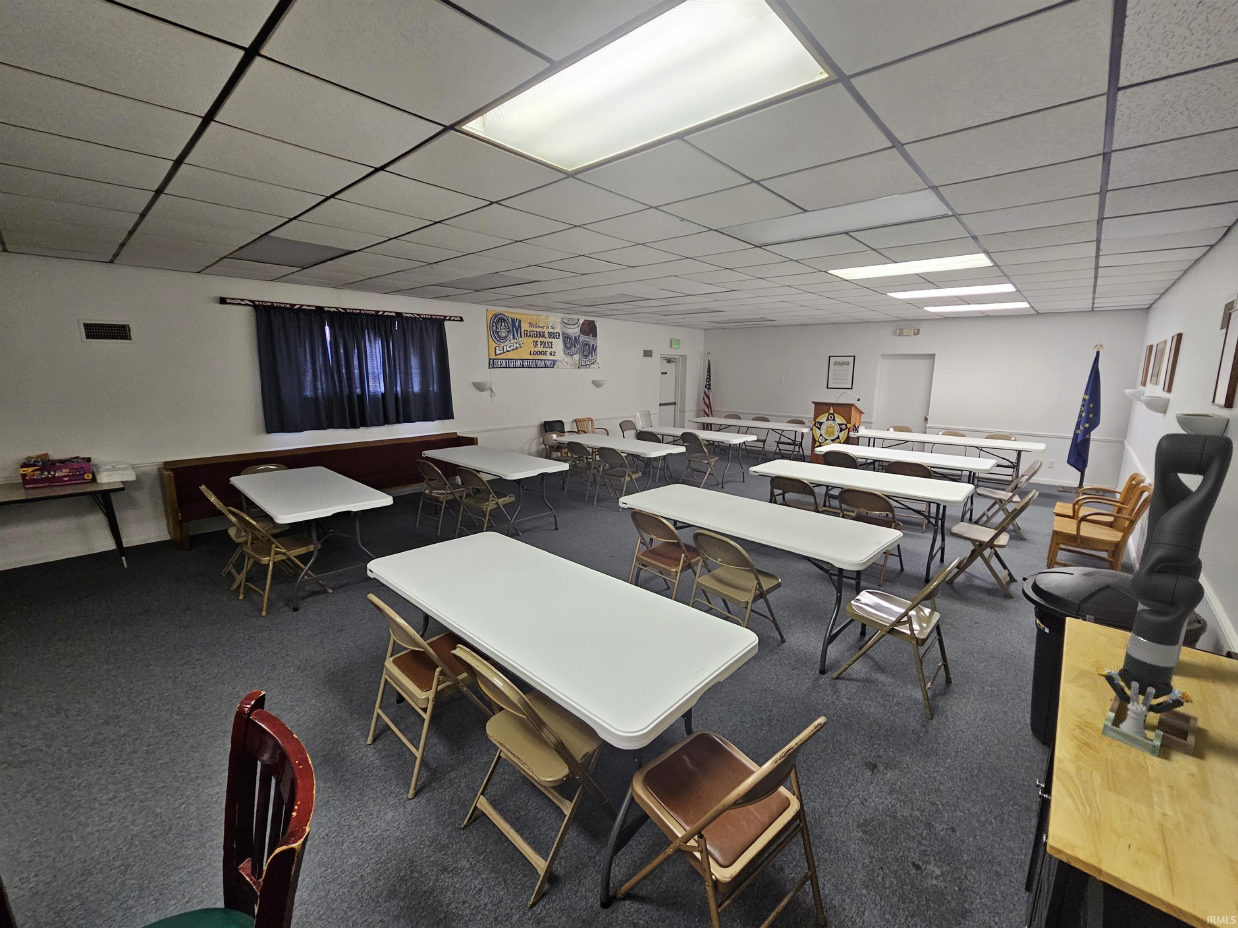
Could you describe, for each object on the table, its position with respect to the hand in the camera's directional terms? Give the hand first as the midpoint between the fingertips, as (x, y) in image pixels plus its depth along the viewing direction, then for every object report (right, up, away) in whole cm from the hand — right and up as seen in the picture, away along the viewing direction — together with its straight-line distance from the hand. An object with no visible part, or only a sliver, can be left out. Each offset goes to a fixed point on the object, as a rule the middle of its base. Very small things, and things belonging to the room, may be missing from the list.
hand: (1135, 721), depth 111 cm
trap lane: (+2, -1, -1) cm, 3 cm away
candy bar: (+17, +1, +14) cm, 22 cm away
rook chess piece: (-5, -2, -4) cm, 6 cm away
